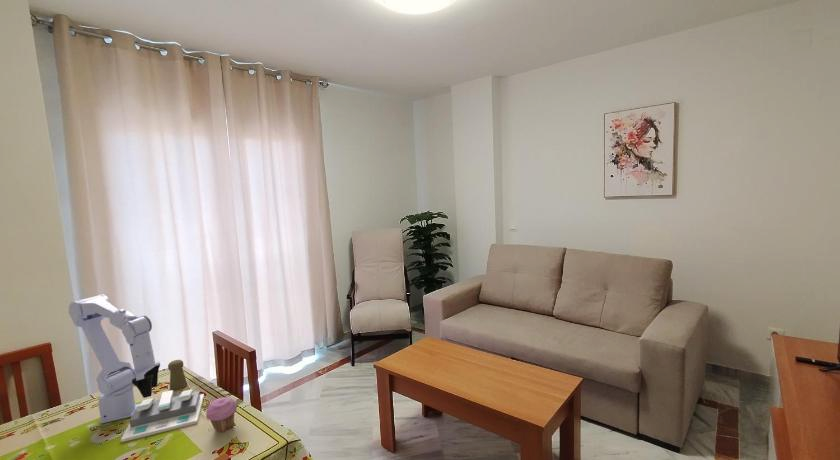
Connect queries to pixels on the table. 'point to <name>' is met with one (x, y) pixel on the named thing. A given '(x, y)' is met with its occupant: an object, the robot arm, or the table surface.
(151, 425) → the switch board
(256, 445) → the table surface
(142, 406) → the left switch
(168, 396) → the middle switch
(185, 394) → the right switch
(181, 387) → the cork
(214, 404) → the cupcake
